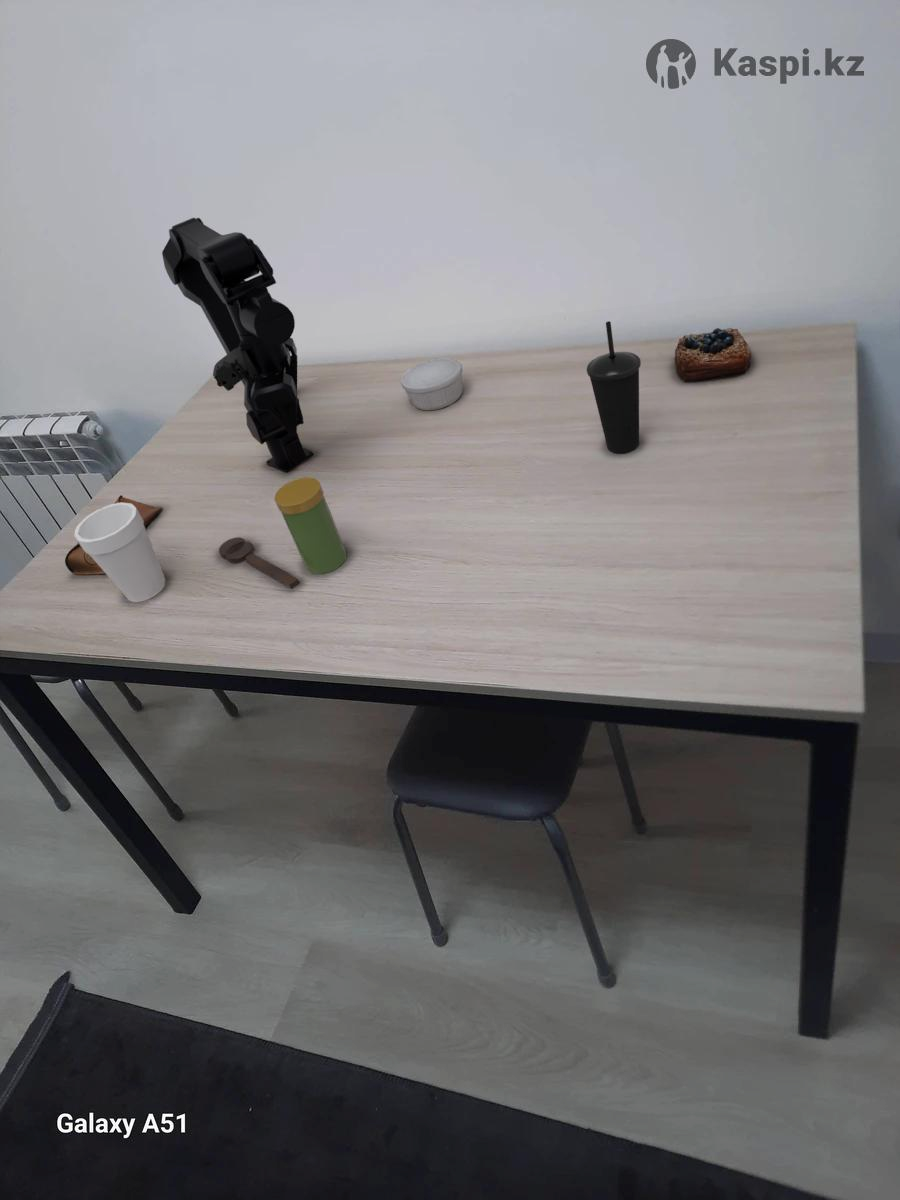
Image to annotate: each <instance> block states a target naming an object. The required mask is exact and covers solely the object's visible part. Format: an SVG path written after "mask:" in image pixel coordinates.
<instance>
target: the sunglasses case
mask: <svg viewBox="0 0 900 1200" xmlns="http://www.w3.org/2000/svg"><path fill="white" fill-rule="evenodd" d="M121 502H123V503H132V504H133V505H134V506H135V507H136V508H137V510H138V512H139V514H140V515H141V517H142V519H143V521H144V523H143V524H144V527H145V529H146V530H147V528H148V527H149V525H150V524H151V523H152V522H153V520H154V519H155V518H156V517H157V516H158V514H159V513H160V511H161V510H162V506H160V507H155V506H153V505H150V504H147V503H143V502H140V501H136V500H133V499H130V498H127V497H123V495H122V494H121V495H119V496H118V498H117V499H116V501H115V502H114V503H113V504H116V503H121ZM64 564H65V566H66V568H67V570H68V571H70V572H71V573H72V574H73V575H76V576H96V575H105V574H106V573H105V572H104V571H103V570H102V569H101V567H100V566H99V565H98V564H97V563H96V562H95V561H94V559H93V558H92V557H91V556H90V555H89V554H87V553H86V552H85V551H84V550H83V548H82V547H81V545H80V544H79V542H78V543H77V544H75V545H73V547H72V548H71V549H69V551H68V552H67V554H66V556H65V558H64ZM106 575H107V574H106Z"/></svg>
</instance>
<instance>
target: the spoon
mask: <svg viewBox="0 0 900 1200" xmlns="http://www.w3.org/2000/svg"><path fill="white" fill-rule="evenodd" d="M218 553H219V555H220V557H221V558H222V559H224V560H227V561H228V562H229V563H231V564H239V563H242V562H246V563H247V564H248V565H250V566H251V567H253V568H255V569H257V570H259V572H261V573H263V574H265V575H267V576H269V577H270V578H272V579H274V580H275V581H277V582H279V583H281V584H282V585H284V586H285V587H287V588H289V589H290V590H291V589H294V588H295V587H296V586H298V585H299V584H300V583H301V582H300V581H299V578H298V577H296V576H293V575H292V574H290V573H289V572H286V571H285V570H283V569H282V568H280V567H278V566H276V565H274V564H272V563H271V562H269V561H267V560H266V559H264V558H262V557H261V556H259V555H257V554H255V547H254V546H253V544H252V543H251V542H250V541H249V540H248V541H247V540H245V538H243V537H239V536H238V537H233V538H230V539H227V540H226V541H224V542H223V543H222V544H221V545H220V546H219V547H218Z"/></svg>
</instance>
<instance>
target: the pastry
mask: <svg viewBox="0 0 900 1200" xmlns="http://www.w3.org/2000/svg"><path fill="white" fill-rule="evenodd" d="M751 360H752V351H751V347H750V345H749V343H748V342H747V341H746V340H745V338H744V336H743V335H742V334H741V333H740V331H739V330H738V328H732V327H727V328H725V329H724V328H723V329H721V328H719V327H716V328H715V329H713V330H712V331H711V332H707V333H706V332H702V333H699V334H697V333H695V334H693V333H691V334H685V335H683V336H682V338H679V339H678V342H677V345H676V348H675V350H674V365H675V372H676V376H677V377H678V379H679V380H680V381H682V382H683V383H687V384H689V383H690V384H691V383H703V382H710V381H719V380H725V379H732V378H736V377H739V376H744V375H745V374H746V373H747V372H748V371H749V369H750V367H751Z"/></svg>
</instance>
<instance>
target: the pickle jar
mask: <svg viewBox="0 0 900 1200" xmlns="http://www.w3.org/2000/svg"><path fill="white" fill-rule="evenodd" d="M273 498H274V503H275V505H276V506H277V509H278V511H279V512H280V513H281V515H282V518H283V519H284V522H285V524H286V527H287V528H288V531H289V533H290V535H291V537H292V540H293V542H294V545H295V546H296V549H297V551H298V554H299V555H300V558H301V560H302V563H303V564H304V567H305V569H306V571H307V572H309V573H311V574H314V575H323V574H327V573H330V572H334V571H335V570H336V569H338V568H339V567H341V566H342V565H343V564H345V562H346V560H347V557H348V553H347V550H346V547H345V545H344V543H343V540H342V538H341V535H340V532H339V530H338V527H337V525H336V522H335V520H334V517H333V515H332V513H331V509H330V508H329V504H328V502H327V499H326V498H325V494H324V490H323V487H322V484H321V482H320V481H319V480H318V479H317V478H315V477H301V478H296V479H293V480H291V481H288V482H287V483H285V484H283V485H282V486H281V487H280V488H279V489H277V491H275V494H274V497H273Z"/></svg>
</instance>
